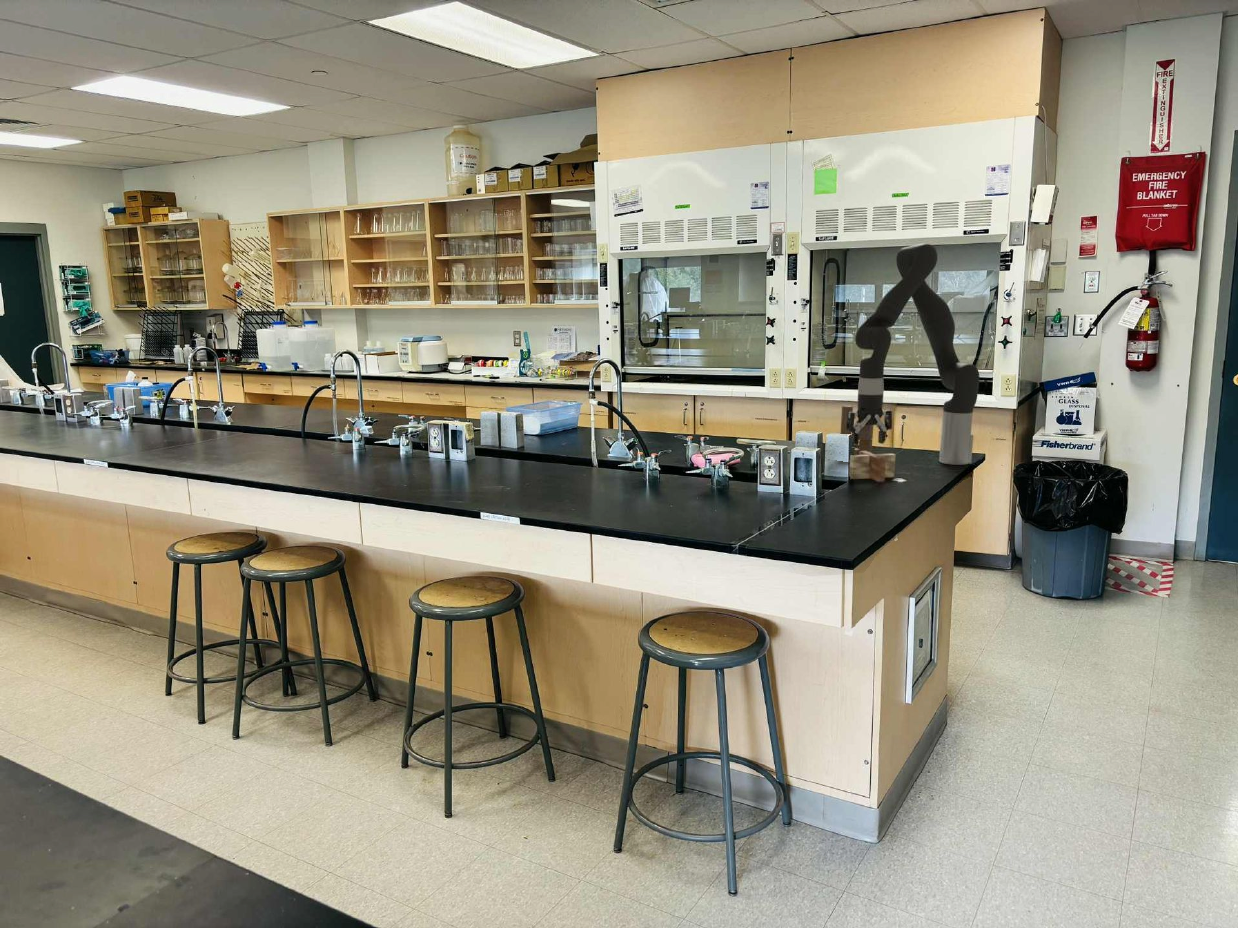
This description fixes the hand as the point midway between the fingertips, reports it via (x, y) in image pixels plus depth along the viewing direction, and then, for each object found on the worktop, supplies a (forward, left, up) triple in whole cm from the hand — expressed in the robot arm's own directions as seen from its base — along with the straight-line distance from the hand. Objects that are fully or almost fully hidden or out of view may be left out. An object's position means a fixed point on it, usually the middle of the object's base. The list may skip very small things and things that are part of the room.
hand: (868, 444), depth 268 cm
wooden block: (-8, -23, -10) cm, 26 cm away
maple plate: (0, +4, -10) cm, 10 cm away
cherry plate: (0, +3, -10) cm, 10 cm away
